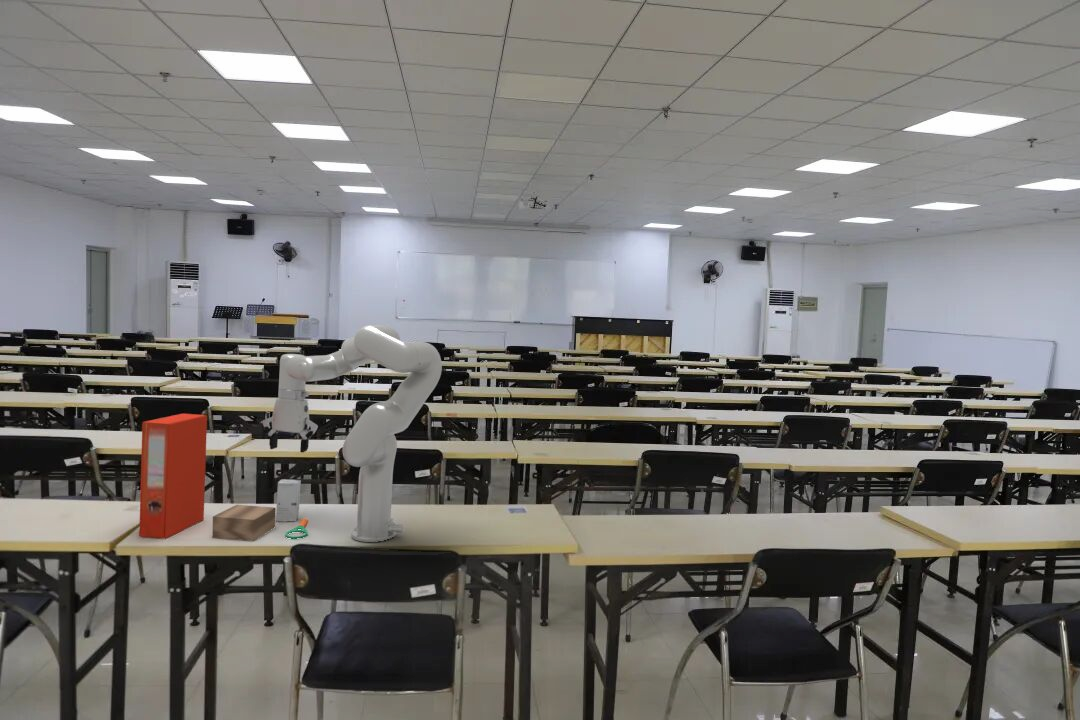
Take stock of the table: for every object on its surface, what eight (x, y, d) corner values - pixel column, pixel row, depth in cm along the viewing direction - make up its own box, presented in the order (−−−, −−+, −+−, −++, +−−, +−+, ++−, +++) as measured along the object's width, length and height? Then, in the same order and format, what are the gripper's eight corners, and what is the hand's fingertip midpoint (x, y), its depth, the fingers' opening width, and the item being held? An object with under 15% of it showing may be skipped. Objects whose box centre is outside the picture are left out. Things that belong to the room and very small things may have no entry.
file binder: (204, 520, 193) (207, 415, 191) (167, 539, 176) (169, 423, 174) (179, 518, 193) (181, 413, 192) (139, 537, 176) (141, 421, 174)
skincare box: (275, 521, 195) (276, 482, 194) (279, 517, 199) (280, 478, 198) (296, 522, 196) (297, 482, 195) (299, 517, 200) (301, 479, 199)
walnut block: (274, 527, 189) (275, 507, 189) (253, 541, 177) (254, 519, 177) (236, 524, 190) (236, 504, 190) (212, 537, 178) (212, 516, 178)
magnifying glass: (305, 540, 181) (305, 535, 181) (282, 541, 180) (282, 535, 180) (315, 523, 196) (315, 518, 196) (294, 523, 195) (294, 518, 195)
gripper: (324, 395, 198) (321, 450, 199) (271, 390, 199) (268, 444, 200) (313, 398, 190) (310, 455, 191) (258, 393, 192) (255, 449, 193)
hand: (288, 450), depth 196 cm, fingers open, 9 cm apart
